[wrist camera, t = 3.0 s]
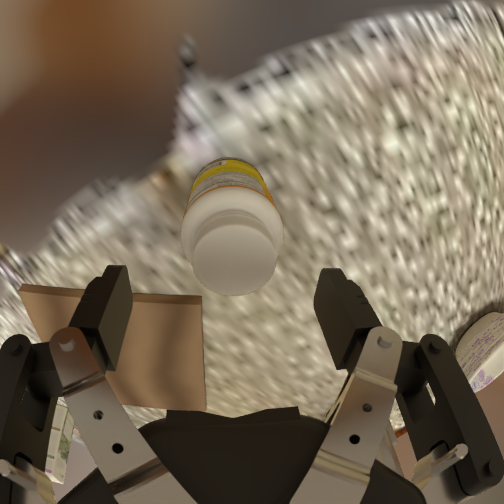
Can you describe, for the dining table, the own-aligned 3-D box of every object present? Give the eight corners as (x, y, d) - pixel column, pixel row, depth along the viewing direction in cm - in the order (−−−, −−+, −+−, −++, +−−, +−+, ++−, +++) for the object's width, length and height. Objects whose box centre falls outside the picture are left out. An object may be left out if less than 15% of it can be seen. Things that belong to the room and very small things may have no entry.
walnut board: (201, 296, 26) (200, 304, 25) (206, 403, 36) (206, 411, 35) (22, 284, 24) (17, 290, 22) (76, 389, 34) (74, 395, 33)
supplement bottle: (250, 230, 23) (267, 318, 15) (184, 212, 22) (163, 295, 13) (275, 169, 21) (313, 229, 12) (205, 146, 19) (190, 191, 11)
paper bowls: (517, 293, 34) (541, 321, 27) (480, 353, 41) (498, 381, 35) (470, 304, 32) (499, 341, 25) (428, 371, 40) (447, 406, 33)
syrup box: (41, 398, 36) (22, 465, 24) (69, 407, 37) (52, 478, 25) (51, 412, 39) (36, 474, 26) (77, 420, 40) (64, 485, 28)
